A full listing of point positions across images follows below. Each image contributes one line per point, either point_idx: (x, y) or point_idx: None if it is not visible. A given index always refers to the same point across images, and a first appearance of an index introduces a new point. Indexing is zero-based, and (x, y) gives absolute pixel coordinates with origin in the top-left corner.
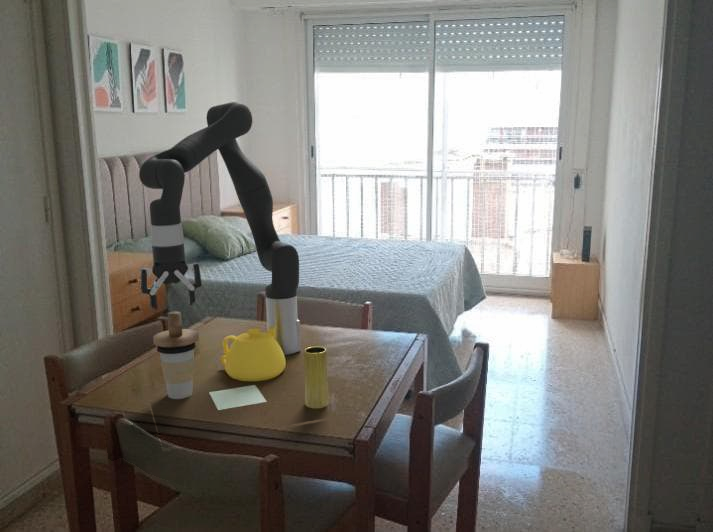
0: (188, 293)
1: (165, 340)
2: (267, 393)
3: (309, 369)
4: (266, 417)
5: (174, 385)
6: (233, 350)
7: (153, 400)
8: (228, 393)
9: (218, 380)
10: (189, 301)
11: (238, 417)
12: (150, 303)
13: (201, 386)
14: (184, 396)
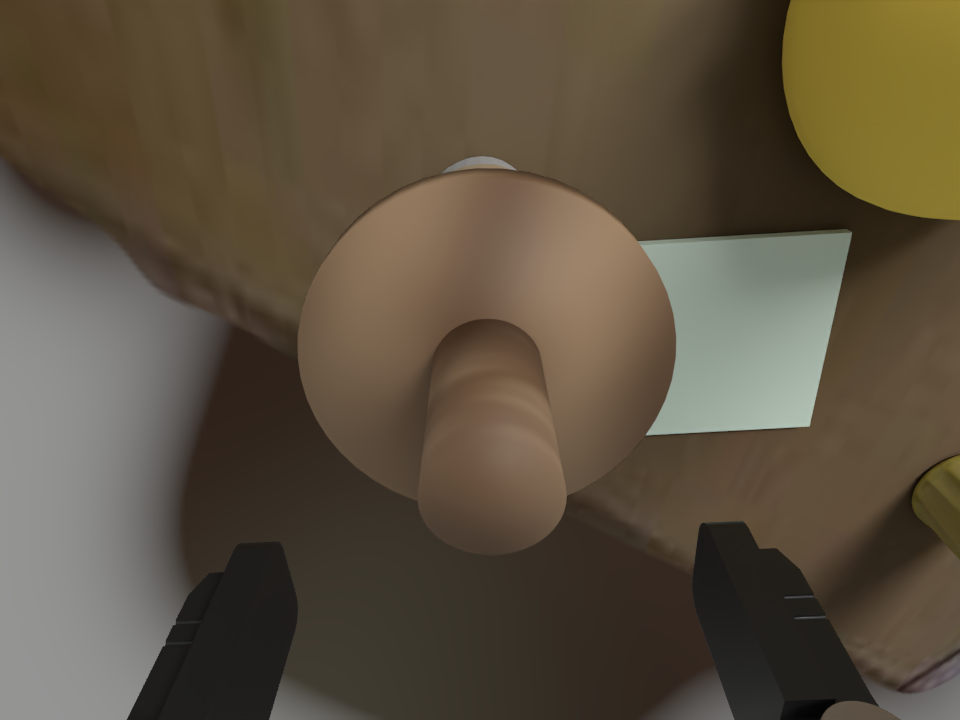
0: (751, 689)
1: (400, 455)
2: (858, 321)
3: None
4: (751, 516)
5: None
6: (907, 84)
7: (351, 216)
8: (697, 291)
9: (712, 49)
10: (708, 616)
11: (663, 488)
12: (184, 621)
13: (602, 111)
14: None
